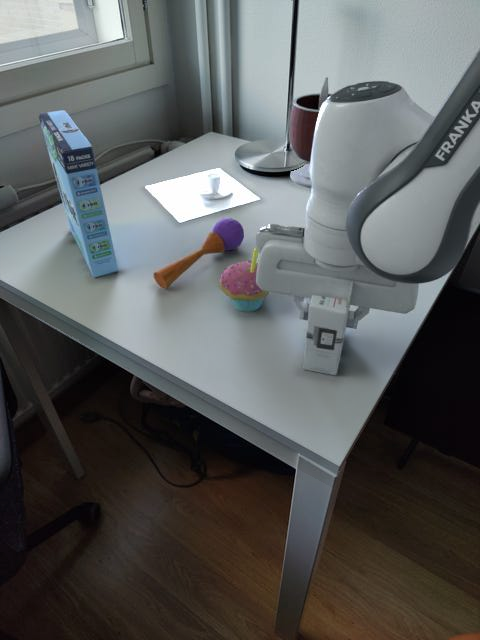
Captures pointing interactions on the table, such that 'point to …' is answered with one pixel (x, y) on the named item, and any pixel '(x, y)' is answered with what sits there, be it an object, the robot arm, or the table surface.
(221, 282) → the cupcake
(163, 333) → the table surface
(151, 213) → the table surface
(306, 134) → the mate gourd
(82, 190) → the gum box
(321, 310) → the ink box
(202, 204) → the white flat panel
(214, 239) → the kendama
